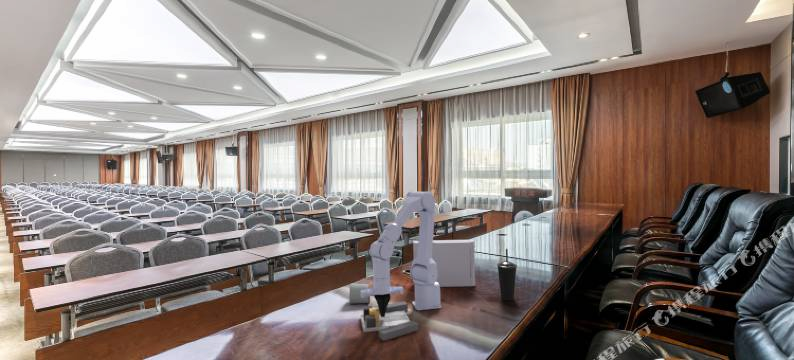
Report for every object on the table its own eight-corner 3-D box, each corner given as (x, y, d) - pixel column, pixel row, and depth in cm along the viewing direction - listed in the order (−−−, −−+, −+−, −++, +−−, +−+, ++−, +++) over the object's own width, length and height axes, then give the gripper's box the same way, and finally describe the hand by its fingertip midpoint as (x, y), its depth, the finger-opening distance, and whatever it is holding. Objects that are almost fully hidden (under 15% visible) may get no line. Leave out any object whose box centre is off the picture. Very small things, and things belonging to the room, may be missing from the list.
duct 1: (404, 309, 133) (404, 301, 133) (407, 312, 130) (407, 304, 130) (371, 314, 129) (371, 306, 129) (374, 318, 126) (373, 309, 126)
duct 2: (413, 327, 117) (413, 320, 117) (418, 331, 115) (418, 323, 115) (378, 338, 111) (378, 330, 111) (383, 341, 108) (383, 333, 108)
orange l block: (378, 317, 122) (377, 306, 122) (379, 321, 119) (379, 310, 119) (369, 318, 122) (369, 307, 121) (370, 322, 118) (370, 311, 118)
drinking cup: (496, 301, 139) (495, 250, 138) (498, 294, 146) (497, 246, 145) (516, 303, 136) (516, 251, 135) (518, 296, 143) (517, 247, 142)
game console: (476, 286, 156) (475, 242, 156) (414, 287, 157) (413, 243, 156) (473, 282, 162) (472, 239, 162) (414, 283, 162) (413, 240, 162)
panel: (404, 313, 128) (404, 302, 128) (411, 326, 117) (411, 314, 117) (360, 318, 125) (360, 306, 125) (363, 332, 114) (363, 319, 114)
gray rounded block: (370, 305, 137) (370, 285, 137) (349, 306, 136) (348, 286, 136) (370, 296, 147) (370, 278, 147) (351, 297, 147) (350, 278, 147)
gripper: (399, 271, 126) (400, 309, 126) (359, 274, 123) (360, 313, 123) (404, 277, 119) (405, 317, 119) (361, 281, 116) (362, 321, 116)
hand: (382, 315), depth 121 cm, fingers closed
